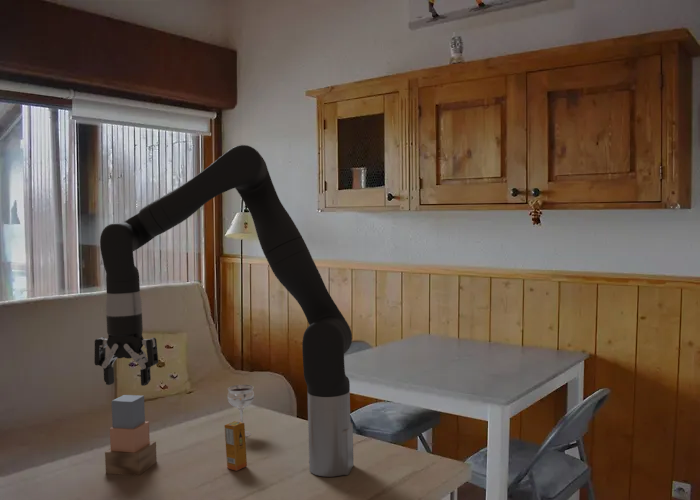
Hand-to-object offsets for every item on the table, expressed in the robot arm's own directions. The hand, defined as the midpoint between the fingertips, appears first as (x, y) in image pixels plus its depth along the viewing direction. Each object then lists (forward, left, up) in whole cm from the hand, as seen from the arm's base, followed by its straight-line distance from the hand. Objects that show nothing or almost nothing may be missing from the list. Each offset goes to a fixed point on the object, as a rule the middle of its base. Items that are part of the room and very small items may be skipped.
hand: (127, 384), depth 147 cm
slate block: (0, 0, -9) cm, 9 cm away
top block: (0, 0, -14) cm, 14 cm away
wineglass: (-17, -25, -19) cm, 36 cm away
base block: (0, 0, -19) cm, 19 cm away
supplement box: (-24, -3, -19) cm, 31 cm away
